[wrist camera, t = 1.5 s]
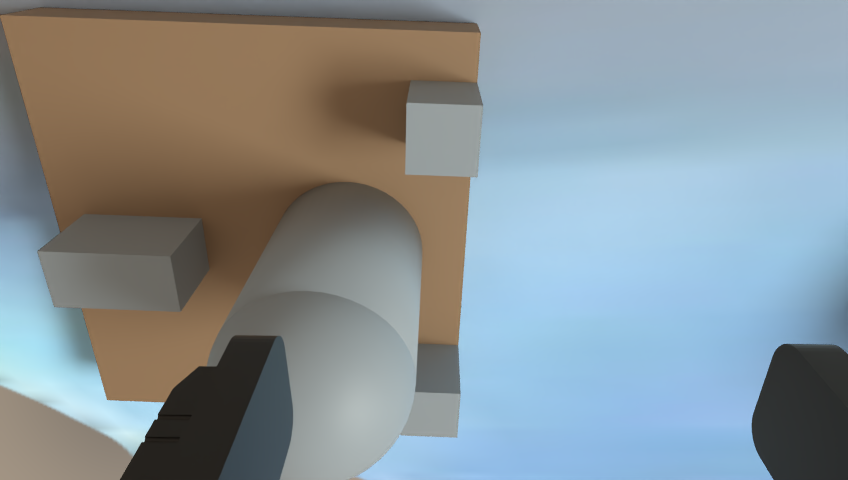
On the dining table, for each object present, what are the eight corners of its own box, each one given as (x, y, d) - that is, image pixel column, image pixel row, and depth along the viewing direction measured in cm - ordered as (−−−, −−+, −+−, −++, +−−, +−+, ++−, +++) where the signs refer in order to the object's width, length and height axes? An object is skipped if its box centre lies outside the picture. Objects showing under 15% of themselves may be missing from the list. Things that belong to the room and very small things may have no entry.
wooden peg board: (40, 7, 29) (-394, 89, 14) (476, 23, 28) (518, 123, 14) (130, 367, 39) (-64, 640, 24) (452, 380, 39) (460, 662, 24)
